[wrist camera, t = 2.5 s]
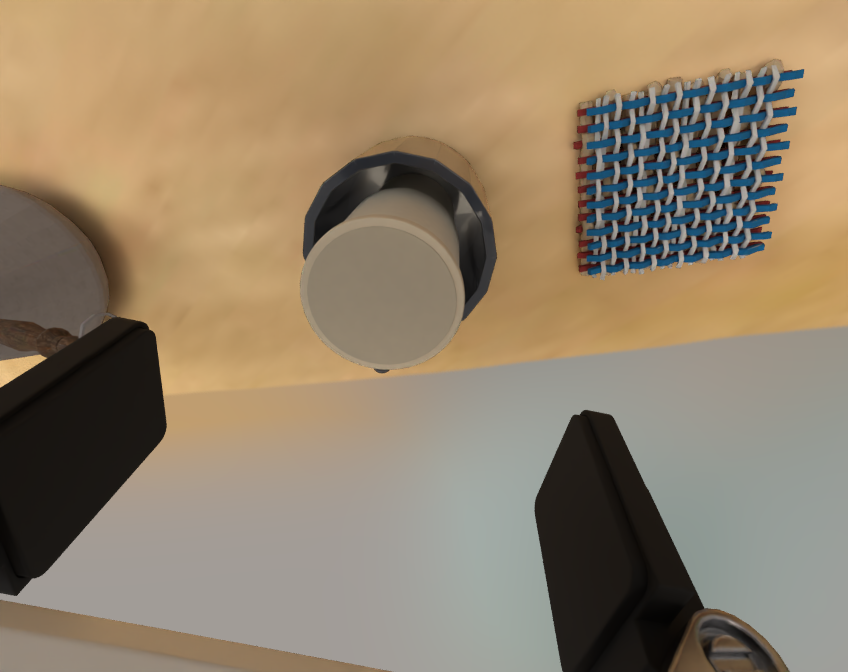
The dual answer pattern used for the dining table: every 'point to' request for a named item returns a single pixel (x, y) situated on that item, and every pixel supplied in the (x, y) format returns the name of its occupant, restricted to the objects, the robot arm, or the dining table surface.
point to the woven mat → (674, 239)
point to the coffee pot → (45, 279)
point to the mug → (423, 159)
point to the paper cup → (388, 277)
